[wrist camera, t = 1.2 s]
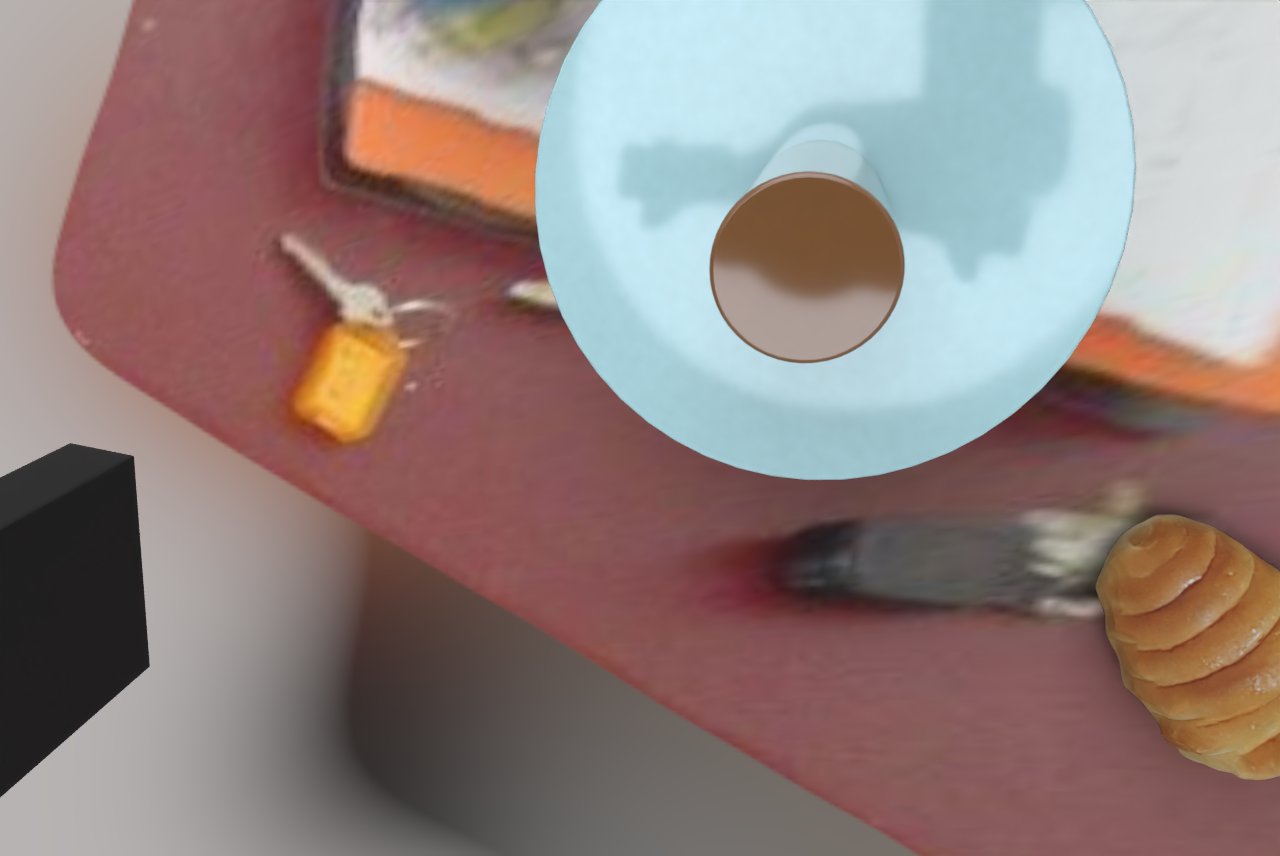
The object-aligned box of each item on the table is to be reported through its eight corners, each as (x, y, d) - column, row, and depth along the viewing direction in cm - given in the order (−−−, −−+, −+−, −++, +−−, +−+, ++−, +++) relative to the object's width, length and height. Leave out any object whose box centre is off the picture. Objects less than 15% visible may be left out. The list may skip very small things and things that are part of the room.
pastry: (1036, 569, 35) (1059, 624, 31) (1214, 464, 32) (1260, 511, 29) (1184, 750, 36) (1222, 823, 33) (1365, 663, 34) (1427, 731, 30)
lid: (1124, -180, 21) (1311, -345, 13) (1122, 444, 26) (1257, 625, 17) (498, -48, 25) (319, -110, 16) (595, 481, 29) (495, 648, 21)
